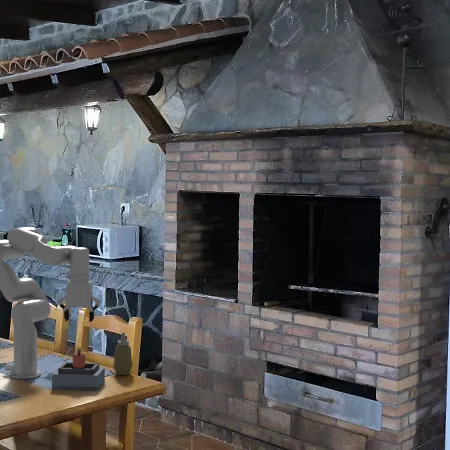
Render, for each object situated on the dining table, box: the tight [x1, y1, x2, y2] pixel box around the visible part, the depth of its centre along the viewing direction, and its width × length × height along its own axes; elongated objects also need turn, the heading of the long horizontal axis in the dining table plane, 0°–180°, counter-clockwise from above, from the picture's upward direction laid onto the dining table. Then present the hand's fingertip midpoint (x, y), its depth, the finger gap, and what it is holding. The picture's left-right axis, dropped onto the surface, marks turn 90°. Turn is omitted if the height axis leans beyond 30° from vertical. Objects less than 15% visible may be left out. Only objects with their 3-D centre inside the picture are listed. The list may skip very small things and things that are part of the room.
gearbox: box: [51, 361, 106, 392], centre depth 284 cm, size 18×13×8 cm
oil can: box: [72, 348, 86, 369], centre depth 283 cm, size 5×5×13 cm
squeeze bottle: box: [113, 331, 133, 376], centre depth 302 cm, size 8×8×18 cm
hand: (79, 321), depth 283 cm, fingers open, 9 cm apart
